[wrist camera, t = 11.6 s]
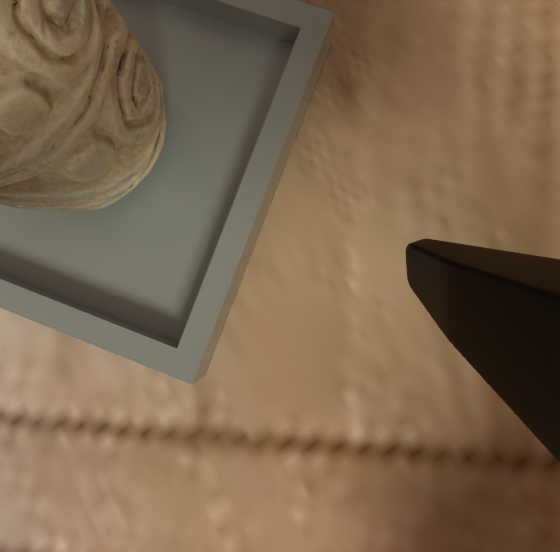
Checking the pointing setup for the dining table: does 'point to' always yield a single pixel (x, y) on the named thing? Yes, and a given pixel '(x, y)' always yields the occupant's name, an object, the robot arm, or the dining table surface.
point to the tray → (177, 187)
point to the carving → (74, 106)
